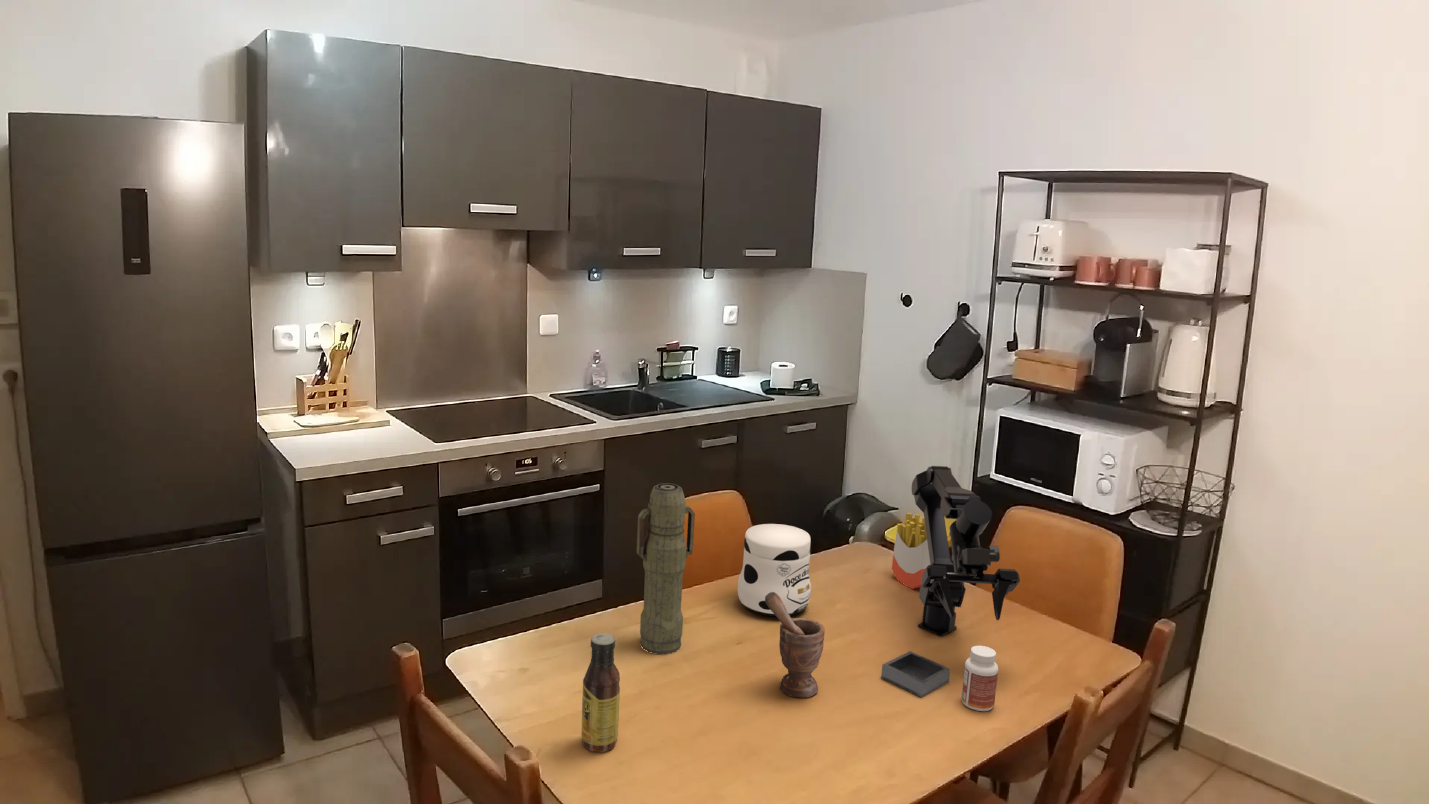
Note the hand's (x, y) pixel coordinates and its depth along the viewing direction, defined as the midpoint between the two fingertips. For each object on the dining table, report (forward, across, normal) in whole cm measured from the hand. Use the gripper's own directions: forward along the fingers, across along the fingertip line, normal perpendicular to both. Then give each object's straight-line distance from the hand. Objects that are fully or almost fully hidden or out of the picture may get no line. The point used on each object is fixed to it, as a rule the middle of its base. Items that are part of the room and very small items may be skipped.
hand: (975, 618), depth 180 cm
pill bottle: (+16, 0, +5) cm, 16 cm away
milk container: (-14, -37, +33) cm, 52 cm away
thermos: (+3, -63, +17) cm, 65 cm away
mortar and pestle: (+14, -36, +6) cm, 40 cm away
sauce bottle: (+30, -71, -9) cm, 77 cm away
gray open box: (+10, -11, +10) cm, 18 cm away
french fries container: (-27, -1, +46) cm, 53 cm away
